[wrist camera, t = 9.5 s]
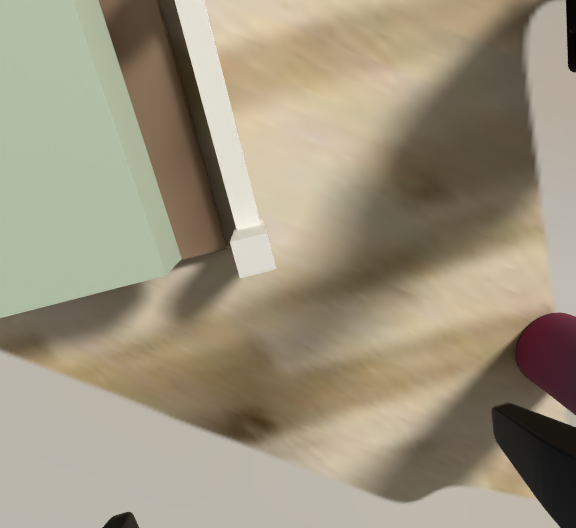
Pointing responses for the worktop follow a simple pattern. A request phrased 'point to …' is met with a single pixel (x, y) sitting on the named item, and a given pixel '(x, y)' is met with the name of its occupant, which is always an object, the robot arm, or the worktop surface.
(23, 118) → the board
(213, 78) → the u-shaped frame
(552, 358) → the cup
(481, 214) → the worktop surface
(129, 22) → the peg stand
